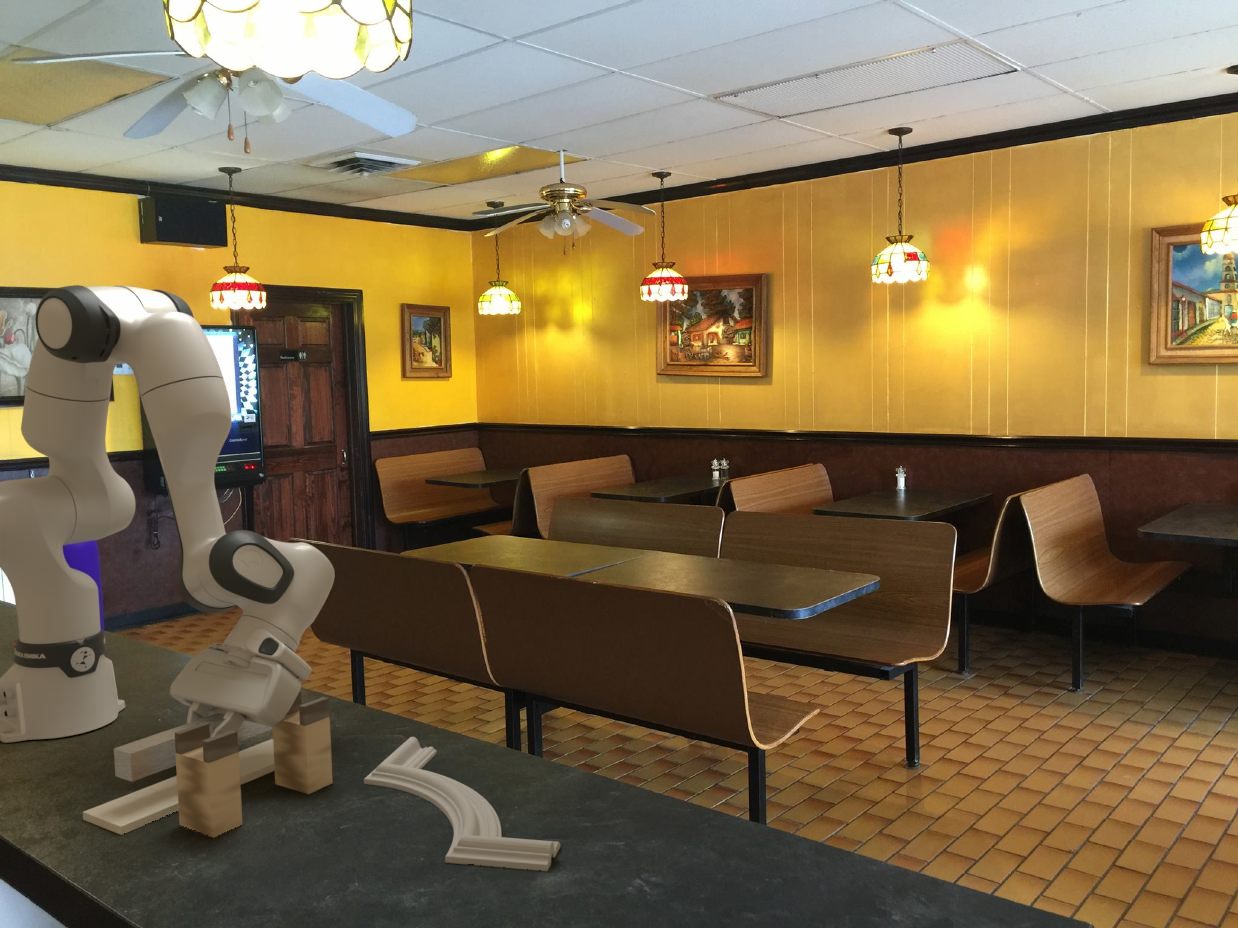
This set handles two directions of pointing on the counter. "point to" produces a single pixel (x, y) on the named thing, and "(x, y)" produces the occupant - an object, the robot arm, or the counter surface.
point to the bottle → (86, 565)
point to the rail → (166, 749)
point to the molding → (461, 813)
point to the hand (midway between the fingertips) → (198, 742)
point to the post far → (304, 746)
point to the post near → (208, 780)
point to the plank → (170, 795)
